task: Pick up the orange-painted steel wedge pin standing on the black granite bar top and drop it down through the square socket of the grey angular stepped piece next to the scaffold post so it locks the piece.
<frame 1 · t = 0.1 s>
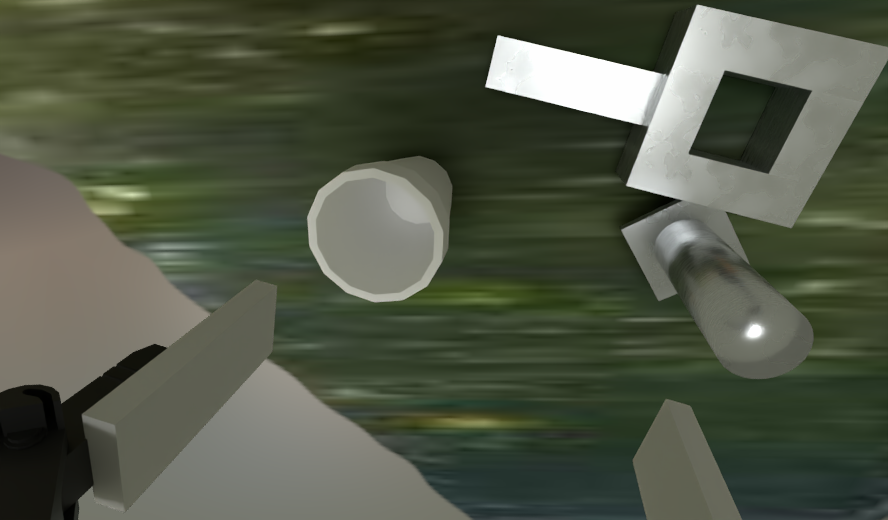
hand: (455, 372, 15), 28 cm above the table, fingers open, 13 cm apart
foam cup: (419, 190, 43), on the table
grey angular stepped piece: (720, 116, 36), on the table
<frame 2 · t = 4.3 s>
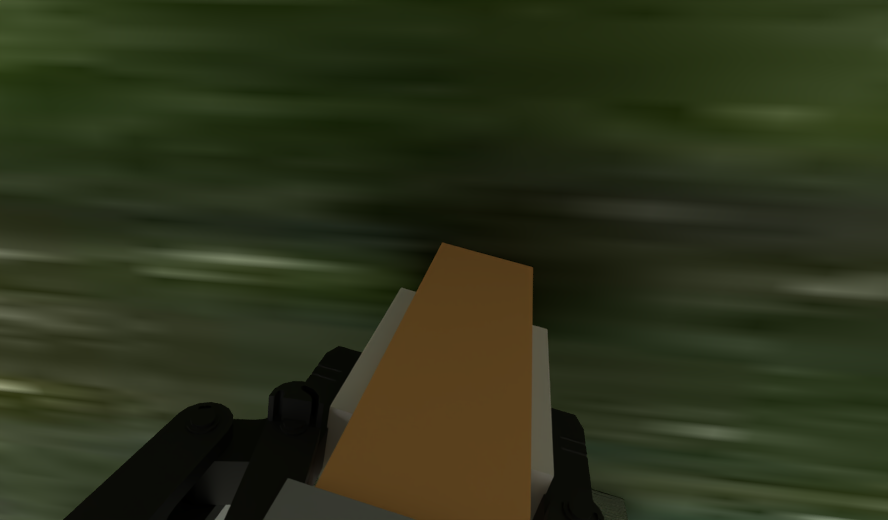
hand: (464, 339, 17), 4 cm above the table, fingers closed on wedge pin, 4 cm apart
wedge pin: (475, 294, 21), on the table, touching gripper
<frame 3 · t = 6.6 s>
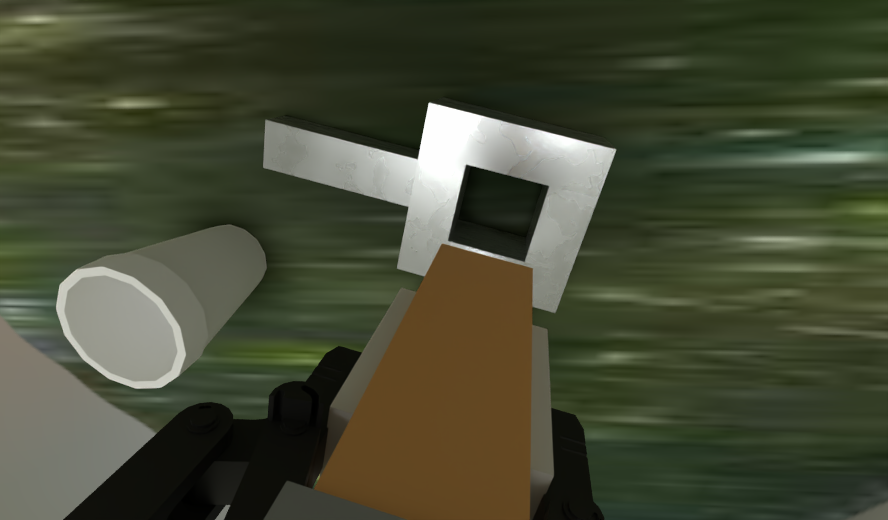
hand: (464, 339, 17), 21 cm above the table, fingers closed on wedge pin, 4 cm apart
wedge pin: (475, 295, 21), point 17 cm above the table, touching gripper
foam cup: (236, 256, 43), on the table
grey angular stepped piece: (501, 195, 36), on the table
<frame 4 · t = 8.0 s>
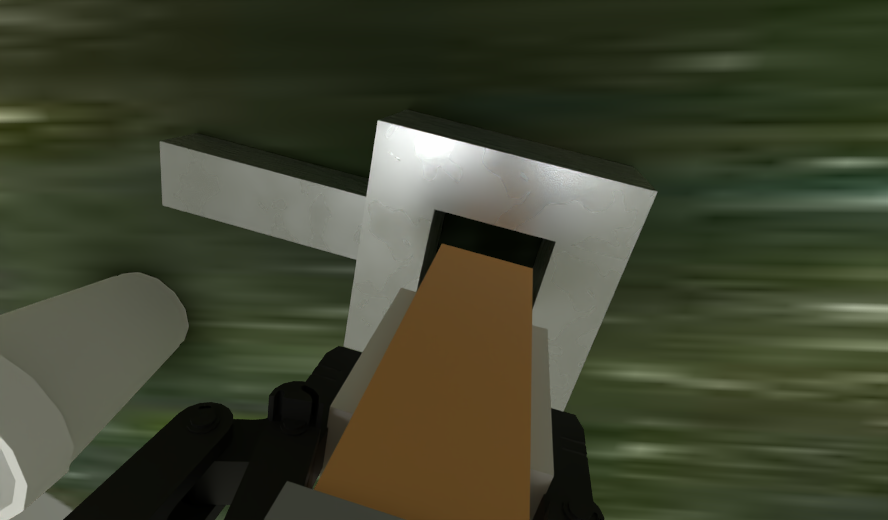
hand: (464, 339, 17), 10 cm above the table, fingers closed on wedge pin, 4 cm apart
wedge pin: (475, 295, 21), point 6 cm above the table, touching gripper
foam cup: (150, 310, 33), on the table
grey angular stepped piece: (488, 242, 26), on the table
when the fingers open (7 cm above the table, at t = 9.3 s): wedge pin drops 3 cm, resting in grey angular stepped piece.
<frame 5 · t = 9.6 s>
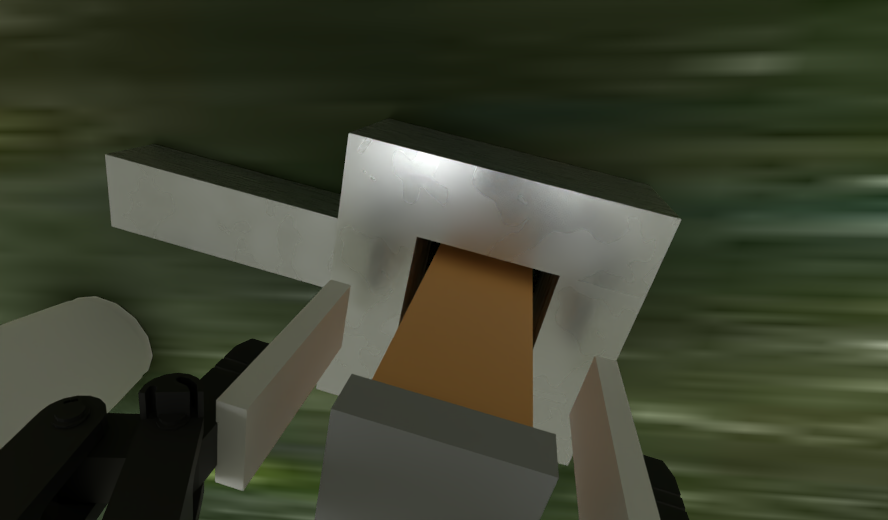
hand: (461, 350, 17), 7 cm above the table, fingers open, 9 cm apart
wedge pin: (481, 267, 23), resting in grey angular stepped piece
foam cup: (110, 337, 30), on the table
grey angular stepped piece: (482, 268, 23), on the table
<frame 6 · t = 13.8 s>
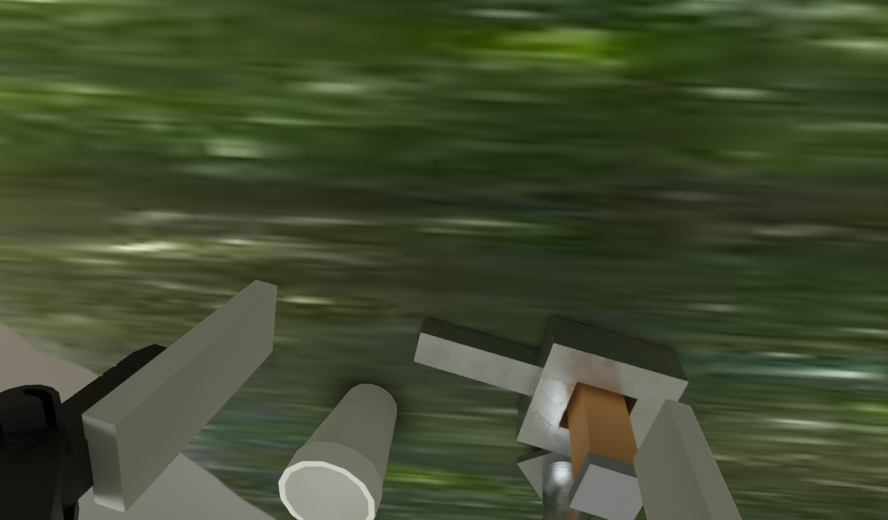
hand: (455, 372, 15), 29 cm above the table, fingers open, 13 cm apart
wedge pin: (590, 379, 48), resting in grey angular stepped piece
foam cup: (371, 404, 55), on the table
grey angular stepped piece: (590, 380, 48), on the table
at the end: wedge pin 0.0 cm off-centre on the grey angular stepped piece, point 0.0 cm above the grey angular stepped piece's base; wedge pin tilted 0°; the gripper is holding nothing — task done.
